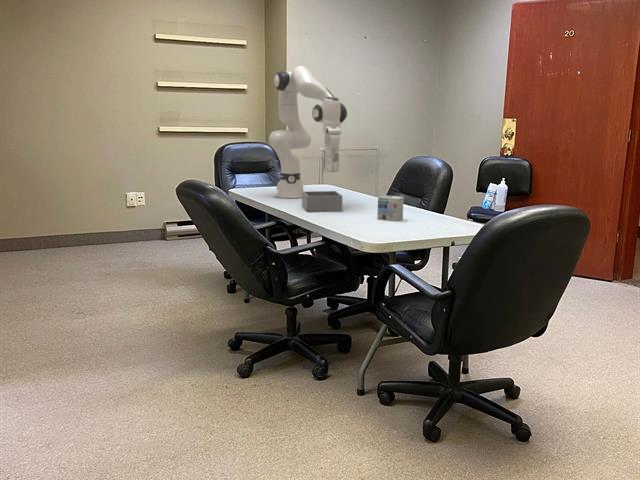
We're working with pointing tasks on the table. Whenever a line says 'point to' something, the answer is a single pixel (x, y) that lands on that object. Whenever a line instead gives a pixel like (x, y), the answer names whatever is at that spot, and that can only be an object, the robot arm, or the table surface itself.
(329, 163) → the syrup box
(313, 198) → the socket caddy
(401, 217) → the light bulb box
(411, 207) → the table surface
